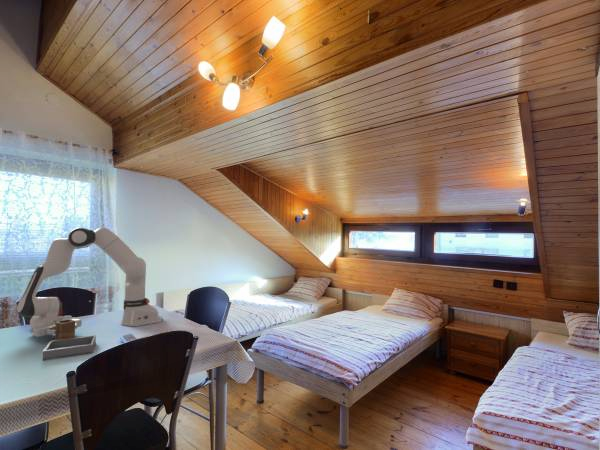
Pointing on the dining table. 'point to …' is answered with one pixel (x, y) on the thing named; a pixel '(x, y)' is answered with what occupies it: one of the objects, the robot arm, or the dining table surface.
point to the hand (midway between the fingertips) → (65, 329)
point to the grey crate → (69, 347)
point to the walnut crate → (65, 329)
